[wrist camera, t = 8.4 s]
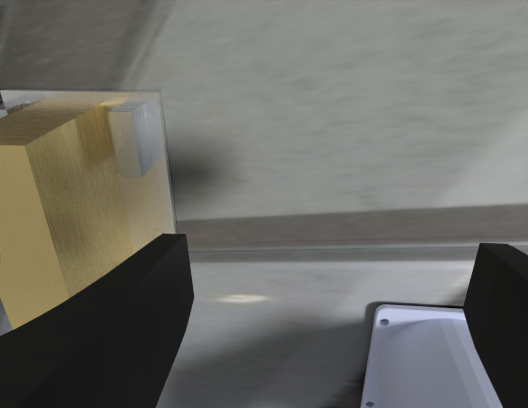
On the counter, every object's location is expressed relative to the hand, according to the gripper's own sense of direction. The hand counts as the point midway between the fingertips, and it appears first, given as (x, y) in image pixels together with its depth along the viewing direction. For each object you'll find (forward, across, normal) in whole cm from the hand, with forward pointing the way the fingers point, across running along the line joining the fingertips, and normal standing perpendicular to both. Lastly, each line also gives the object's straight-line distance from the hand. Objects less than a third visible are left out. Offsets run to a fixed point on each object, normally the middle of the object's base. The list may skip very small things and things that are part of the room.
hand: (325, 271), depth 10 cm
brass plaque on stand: (+10, +11, +4) cm, 15 cm away
